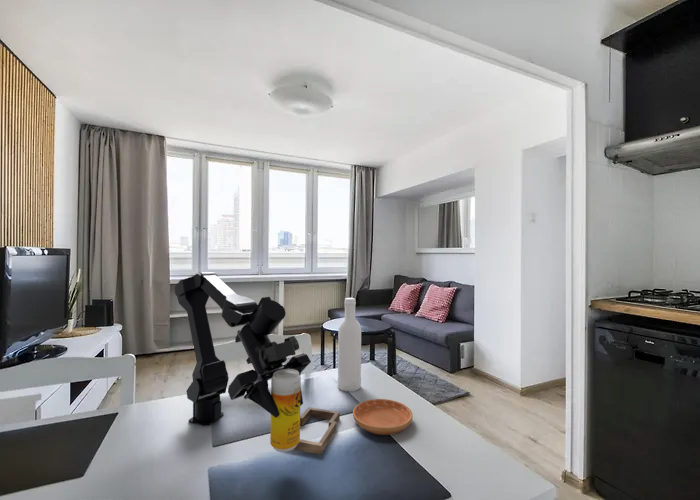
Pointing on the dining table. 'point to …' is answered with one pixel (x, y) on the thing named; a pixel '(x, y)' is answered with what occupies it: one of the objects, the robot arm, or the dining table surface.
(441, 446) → the dining table surface
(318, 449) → the brown rectangular frame
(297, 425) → the beer can
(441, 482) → the dining table surface
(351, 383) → the bottle
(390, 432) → the saucer
